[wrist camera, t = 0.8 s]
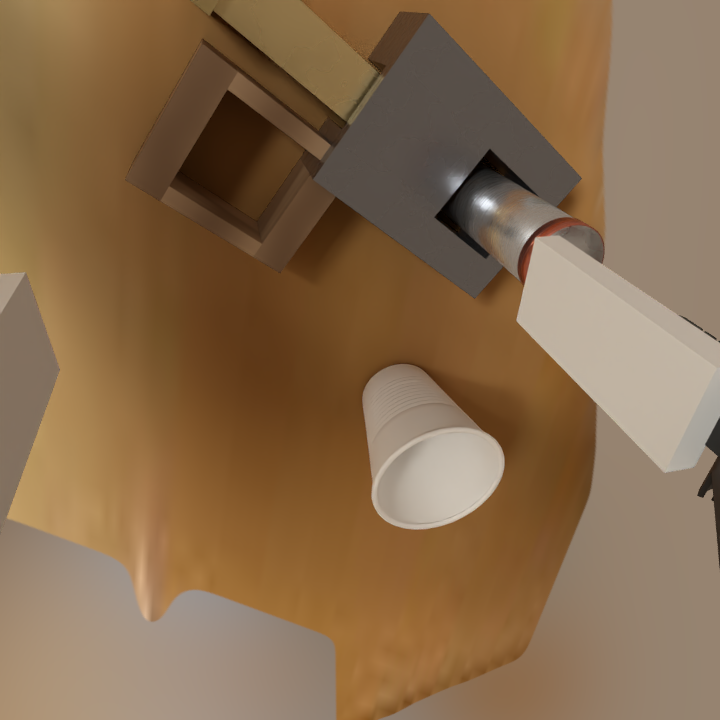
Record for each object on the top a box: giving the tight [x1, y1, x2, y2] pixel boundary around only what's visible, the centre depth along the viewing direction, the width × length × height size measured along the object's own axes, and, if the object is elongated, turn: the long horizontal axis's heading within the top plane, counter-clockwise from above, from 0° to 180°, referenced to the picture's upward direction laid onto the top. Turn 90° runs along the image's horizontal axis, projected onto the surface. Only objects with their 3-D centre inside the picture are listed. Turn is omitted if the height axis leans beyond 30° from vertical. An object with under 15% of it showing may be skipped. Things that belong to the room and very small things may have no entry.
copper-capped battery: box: [440, 162, 604, 285], centre depth 32 cm, size 4×4×14 cm
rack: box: [125, 39, 336, 273], centre depth 31 cm, size 10×8×4 cm
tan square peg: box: [191, 0, 380, 122], centre depth 29 cm, size 11×4×4 cm, turn 51°
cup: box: [362, 364, 505, 530], centre depth 42 cm, size 10×10×11 cm
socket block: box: [300, 12, 582, 298], centre depth 34 cm, size 14×10×5 cm
